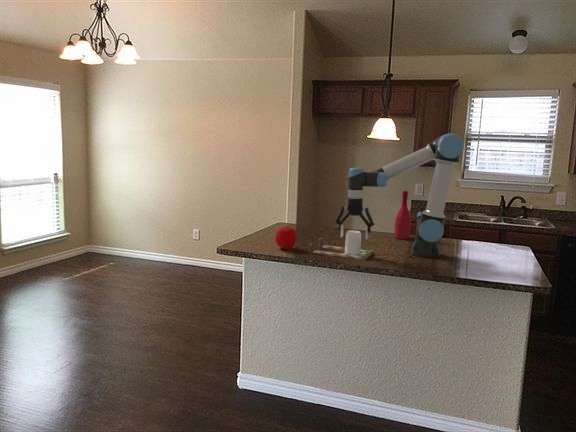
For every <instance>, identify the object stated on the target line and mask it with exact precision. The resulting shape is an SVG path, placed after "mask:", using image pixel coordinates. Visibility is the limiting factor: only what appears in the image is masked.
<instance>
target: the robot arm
mask: <svg viewBox="0 0 576 432" xmlns="http://www.w3.org/2000/svg"><path fill="white" fill-rule="evenodd" d="M464 147H465V145H464V141H463V139H462V137H460V136H459V135H457V134H456V133H445V134H442V135H441V136H439V137H437V138H436V139H434V140H433V141H431V142H429V143H427V145H426V146H425V147H422V148H420V149H418V150H416V151H413V152H412V153H410V154H408V155H405V156H403V157H401V158H399V159H397V160H395V161H392V162H390V163H388V164H386V165H384V166H382V167H380V168H378V169H374V170H372V171H365V170H364V168H363V167H351V168H349V170H348V189H347V190H348V194H347V195H348V196H347V206H345V205H343V206H341V209H340V213H339V214H338V216H337V218H336V220H335V224H337V225H338V231H340V232H339V233H340V234H339V235H340V238H343V237H344V225H345V224H343V223H344V222H345V221H346V220H347V219H348V218H349V216H355V217H360V218H361V219H362V221H363V222H364V224H365V225H366V227H365V240H369V234H370V233H371V227H374V226H375V223H374V220H373V218H372V216H371V214H370V210H369V209H370V208H369V207H368V206H367V207H363V205H364V203H363V201H364V199H363V197H364V188H365V187H369V188H370V187H371V188H386V187H387V185H388V181H390V180H391V179H393V178H395V177H398V176H400V175H401V174H404V173H406V172H409V171H410V170H413V169H415V168H417V167H420V166H421V165H425V164H426V163H428V162H431V161H435V168H434V173H433V176H432V180H431V185H430V190H429V195H428V199H427V204H426V207H425V210H423V211H419V212H418V213H417V215H416V230H415V239H414V242H413V244H412V247H411V251H410V253H411V254H412V255H413V256H416V257H420V258H439V257H441V249H440V248H441V247H440V245H439V240H440V239H441V238H442V237H443V235H444V233H445V227H444V226H445V223H446V215H445V214H444V212H445V207H446V204H447V199H448V194H449V190H450V186H451V182H452V178H453V173H454V170H455V169H454V168H455V166H456V165H458V164H459V161H460V158H461V154H462V153H463V151H464ZM345 211H348V212H347V213H346V215H345V216H344V217H343V215H344V213H345ZM363 212H364V213H365V215H366V216H365V215H364V214H363ZM342 217H343V218H342Z"/></svg>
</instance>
